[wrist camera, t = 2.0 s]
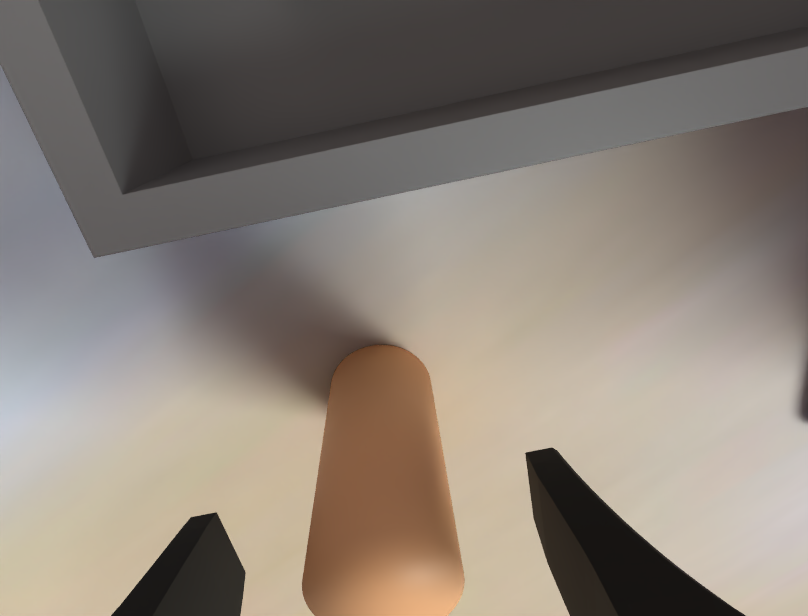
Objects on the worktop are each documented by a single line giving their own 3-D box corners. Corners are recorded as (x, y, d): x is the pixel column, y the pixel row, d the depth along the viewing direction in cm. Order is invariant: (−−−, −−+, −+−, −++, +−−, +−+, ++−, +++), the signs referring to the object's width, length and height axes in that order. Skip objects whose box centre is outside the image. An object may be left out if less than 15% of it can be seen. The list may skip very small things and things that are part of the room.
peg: (421, 335, 16) (450, 513, 10) (438, 419, 17) (474, 624, 11) (319, 356, 16) (281, 544, 10) (344, 437, 17) (326, 650, 11)
